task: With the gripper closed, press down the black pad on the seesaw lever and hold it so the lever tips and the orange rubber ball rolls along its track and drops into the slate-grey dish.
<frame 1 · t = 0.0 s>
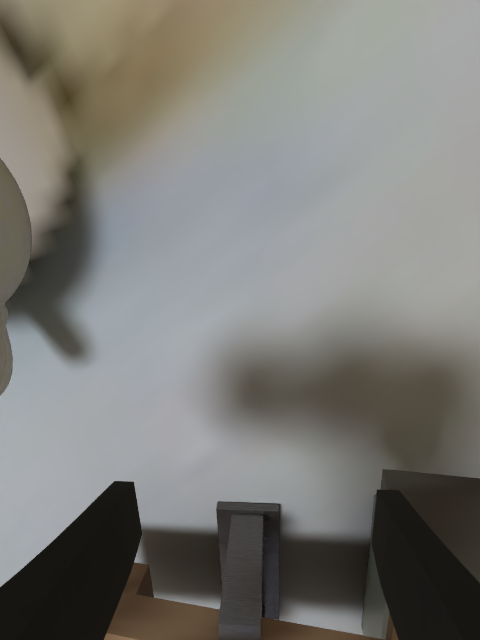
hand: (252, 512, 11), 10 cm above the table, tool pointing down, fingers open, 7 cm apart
stand: (250, 559, 25), on the table
tray: (460, 569, 24), on the table
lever: (250, 599, 18), point 6 cm above the table, hinge at 6.0°, touching ball
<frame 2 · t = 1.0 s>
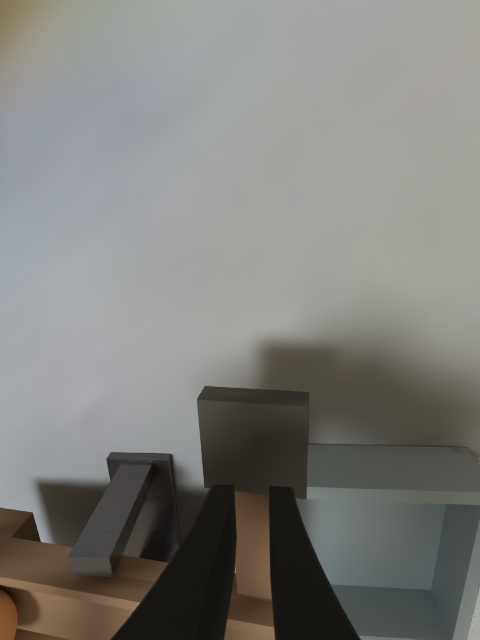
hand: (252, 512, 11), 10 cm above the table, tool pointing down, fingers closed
stand: (149, 513, 25), on the table
tray: (355, 521, 23), on the table
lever: (106, 534, 17), point 6 cm above the table, hinge at 6.0°, touching ball
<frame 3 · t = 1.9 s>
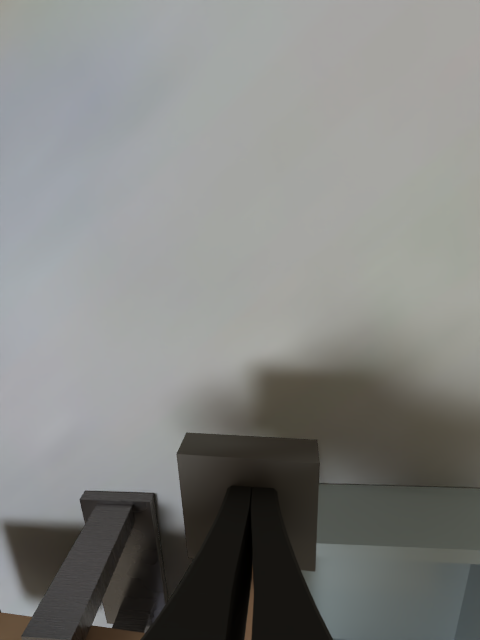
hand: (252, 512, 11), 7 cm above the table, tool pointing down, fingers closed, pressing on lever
stand: (130, 558, 22), on the table
tray: (366, 569, 20), on the table
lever: (70, 605, 14), point 6 cm above the table, hinge at 3.4°, touching ball, gripper
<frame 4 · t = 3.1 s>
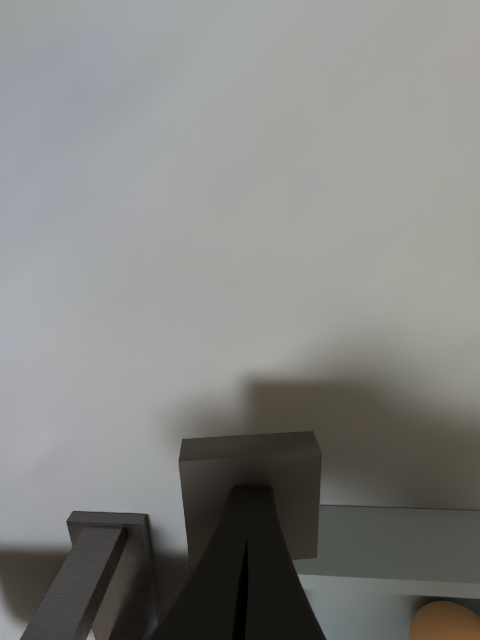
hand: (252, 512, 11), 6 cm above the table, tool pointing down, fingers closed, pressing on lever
stand: (121, 581, 20), on the table
tray: (374, 595, 19), on the table
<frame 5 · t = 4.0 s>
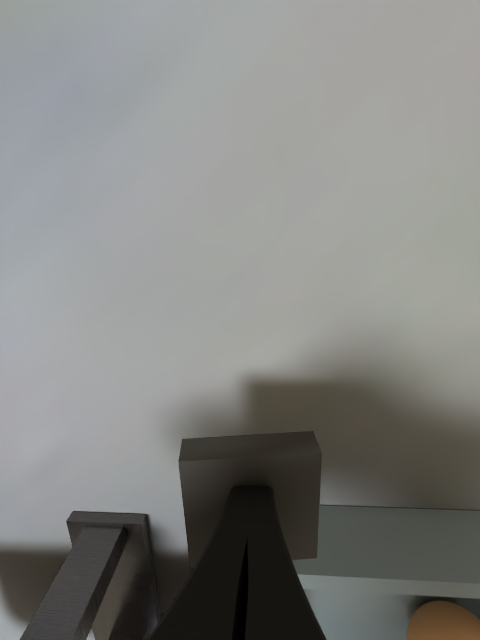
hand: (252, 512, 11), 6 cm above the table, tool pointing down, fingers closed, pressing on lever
stand: (121, 581, 20), on the table
tray: (374, 595, 19), on the table
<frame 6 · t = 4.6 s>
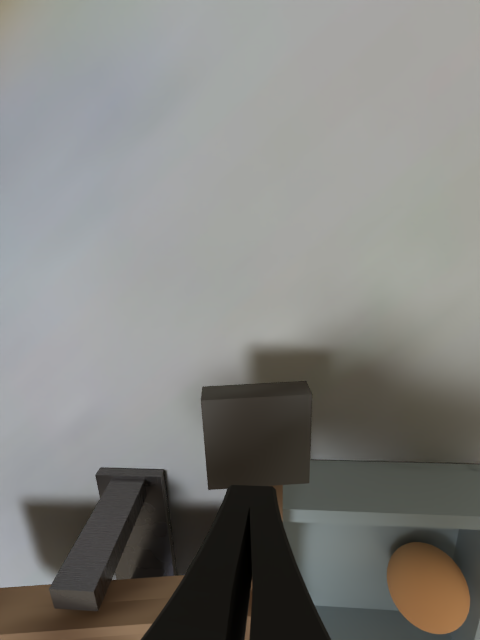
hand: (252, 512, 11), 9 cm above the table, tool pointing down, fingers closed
stand: (141, 531, 23), on the table
ball: (426, 585, 19), point 2 cm above the table, tilted 39°, touching tray
tray: (361, 541, 22), on the table
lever: (92, 560, 16), point 6 cm above the table, hinge at -7.2°
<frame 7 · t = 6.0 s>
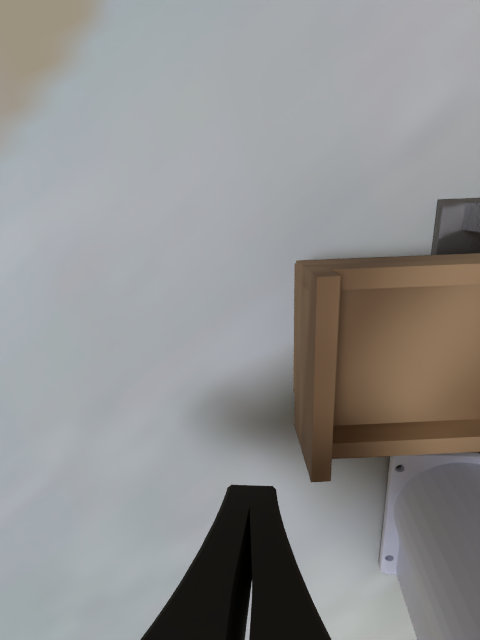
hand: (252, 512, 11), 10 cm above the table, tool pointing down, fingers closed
stand: (466, 300, 18), on the table
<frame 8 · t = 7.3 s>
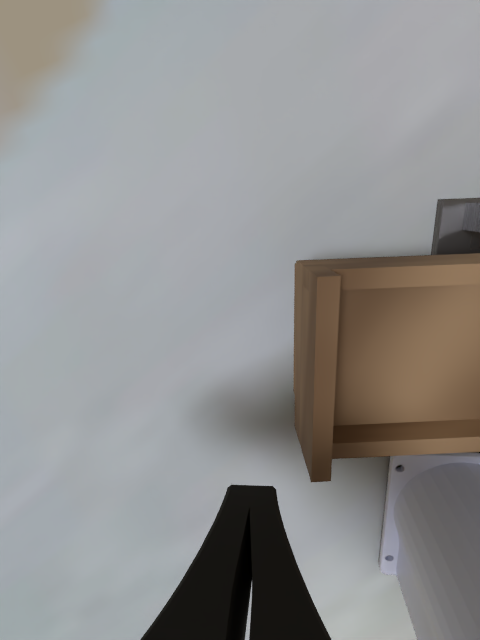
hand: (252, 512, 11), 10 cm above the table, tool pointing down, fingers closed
stand: (466, 300, 18), on the table
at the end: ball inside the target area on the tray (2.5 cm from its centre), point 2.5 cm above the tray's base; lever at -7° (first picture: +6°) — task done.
